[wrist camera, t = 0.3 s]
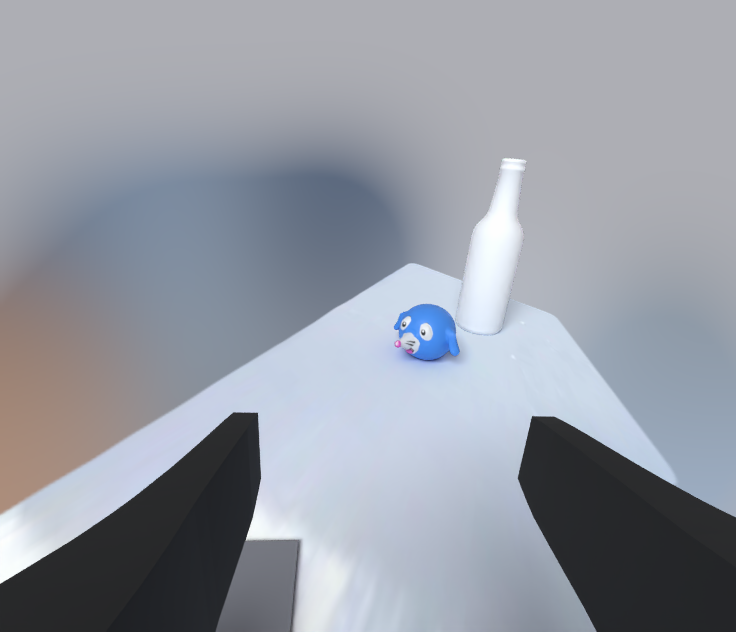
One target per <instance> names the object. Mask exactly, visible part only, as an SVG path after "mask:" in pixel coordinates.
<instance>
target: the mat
mask: <svg viewBox="0 0 736 632" xmlns="http://www.w3.org/2000/svg"><path fill="white" fill-rule="evenodd" d="M297 552H298V540H268V541H245V543H244V546H243V549H242V552H241V555H240V558H239V561H238V564H237V567H236V570H235V573H234V576H233V579H232V582H231V585H230V588H229V591H228V594H227V597H226V600H225V603H224V606H223V609H222V612H221V615H220V618H219V621H218V625H217V628H216V632H290V628H291V617H292V607H293V596H294V585H295V574H296V563H297Z"/></svg>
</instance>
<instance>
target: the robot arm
mask: <svg viewBox="0 0 736 632" xmlns="http://www.w3.org/2000/svg"><path fill="white" fill-rule="evenodd" d="M260 480H261V469H260V448H259V428H258V413H232V414H231V415H230V416H229V417H228V418H226V419H225V420H224V421H223V422H222V423H221V424H220V425H219V426H218V427H216V428H215V429H214V430H213V431H212V432H211V433H210V434H209V435H208V436H207V437H205V438H204V439H203V440H202V441H201V442H200V443H199V444H198V445H197V446H195V447H194V448H193V449H192V450H191V451H190V452H189V453H187V454H186V455H185V456H184V457H183V458H182V459H181V460H179V461H178V462H177V463H176V464H175V465H174V466H172V467H171V468H170V469H169V470H168V471H166V472H165V473H164V474H163V475H161V476H160V477H159V478H158V479H156V480H155V481H154V482H153V483H151V484H150V485H149V486H148V487H146V488H145V489H144V490H142V491H141V492H140V493H139V494H137V495H136V496H135V497H134V498H132V499H131V500H129V501H128V502H127V503H125V504H124V505H123V506H121V507H120V508H119V509H117V510H116V511H114V512H113V513H112V514H110V515H109V516H107V517H106V518H104V519H103V520H101V521H100V522H98V523H97V524H95V525H94V526H93V527H91V528H90V529H88V530H87V531H85V532H84V533H82V534H81V535H79V536H78V537H76V538H75V539H73V540H72V541H70V542H68V543H67V544H65V545H63V546H62V547H60V548H59V549H57V550H55V551H54V552H52V553H50V554H49V555H47V556H45V557H44V558H42V559H41V560H39V561H37V562H36V563H34V564H32V565H31V566H29V567H27V568H26V569H24V570H23V571H21V572H19V573H18V574H16V575H14V576H13V577H11V578H9V579H8V580H6V581H4V582H3V583H1V584H0V632H216V628H217V625H218V621H219V618H220V615H221V612H222V609H223V606H224V603H225V600H226V597H227V594H228V591H229V588H230V585H231V582H232V579H233V576H234V573H235V570H236V567H237V564H238V561H239V558H240V555H241V552H242V549H243V546H244V543H245V540H246V537H247V534H248V531H249V528H250V524H251V521H252V518H253V514H254V509H255V505H256V500H257V495H258V490H259V485H260ZM518 480H519V482H520V485H521V488H522V490H523V493H524V495H525V498H526V500H527V503H528V505H529V508H530V510H531V512H532V515H533V517H534V519H535V520H536V522H537V524H538V526H539V528H540V530H541V531H542V533H543V535H544V537H545V539H546V541H547V542H548V544H549V546H550V548H551V550H552V551H553V553H554V555H555V557H556V558H557V560H558V562H559V564H560V566H561V567H562V569H563V571H564V573H565V574H566V576H567V578H568V580H569V582H570V583H571V585H572V587H573V589H574V590H575V592H576V594H577V596H578V598H579V599H580V601H581V603H582V605H583V606H584V608H585V610H586V612H587V614H588V616H589V618H590V620H591V622H592V624H593V625H594V627H595V629H596V631H597V632H736V517H734V516H731V515H730V514H727V513H725V512H723V511H721V510H719V509H717V508H715V507H713V506H711V505H709V504H707V503H706V502H703V501H702V500H700V499H698V498H696V497H694V496H692V495H691V494H689V493H687V492H685V491H683V490H681V489H680V488H678V487H676V486H674V485H672V484H670V483H669V482H667V481H665V480H663V479H661V478H660V477H658V476H656V475H654V474H653V473H651V472H649V471H647V470H646V469H644V468H642V467H641V466H639V465H637V464H635V463H634V462H632V461H630V460H629V459H627V458H625V457H624V456H622V455H620V454H619V453H617V452H615V451H614V450H612V449H610V448H609V447H607V446H605V445H604V444H602V443H600V442H599V441H597V440H595V439H594V438H592V437H590V436H589V435H587V434H585V433H583V432H582V431H580V430H578V429H576V428H575V427H573V426H571V425H569V424H568V423H566V422H564V421H562V420H560V419H558V418H556V417H538V416H532V419H531V423H530V428H529V432H528V436H527V441H526V445H525V449H524V454H523V458H522V462H521V467H520V471H519V475H518Z"/></svg>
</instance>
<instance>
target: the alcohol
mask: <svg viewBox="0 0 736 632" xmlns="http://www.w3.org/2000/svg"><path fill="white" fill-rule="evenodd" d="M501 162H502V165H501V167H500V173H499V177H498V180H497V184H496V187H495V191H494V194H493V198H492V201H491V205H490V208H489V211H488V213H487V214H486V216H485V217H484V218H483V219H482V220H481V221H479V222H478V223H477V225H476V226H475V228H474V230H473V232H472V236H471V241H470V246H469V252H468V257H467V262H466V267H465V272H464V277H463V282H462V287H461V292H460V297H459V302H458V307H457V313H456V318H455V320H456V322H457V324H458V326H459V327H460V328H461V329H463V330H465V331H467V332H470V333H473V334H478V335H494V334H496V333H498V332H499V331H500V330H501V329H502V326H503V322H504V318H505V314H506V310H507V306H508V302H509V298H510V294H511V290H512V285H513V282H514V278H515V273H516V269H517V265H518V261H519V257H520V253H521V249H522V245H523V241H524V237H523V236H524V232H523V229H522V227H521V225H520V223H519V221H518V216H517V212H518V205H519V199H520V193H521V186H522V180H523V173H524V172H525V165H526V164H527V162H526V160H520V159H508V158H504V159H503V160H501Z"/></svg>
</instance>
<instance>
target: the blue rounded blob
mask: <svg viewBox="0 0 736 632" xmlns="http://www.w3.org/2000/svg"><path fill="white" fill-rule="evenodd" d="M394 329H395V330H398V329H399V338H400V340H398V341H396V342H395V346H396V347H402V348H403V349H405V350H406V352H407V353H409V354H411V355H412V356H414V357H416V358H419V359H423V360H433V359H437V358H440V357H442V356H443V355H445V354H446V353H447V352H448V351H450V353H451V354H452V355H453V356H457V355H458V354H459V352H460V350H459V347H458V344H457V340H456V327H455V323H454V320H453V318H452V317H451V315H450V314H449V313H448V312H447V311H446V310H444V309H443V308H441V307H439V306H436V305H432V304H421V305H417V306H415V307H413V308H411V309H410V310H409V311H406V312H403V313H401V314H400V316H399V319H398V321H397V323H396V324H395V326H394Z"/></svg>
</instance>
